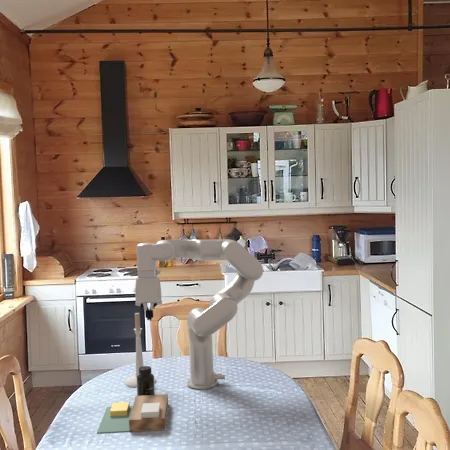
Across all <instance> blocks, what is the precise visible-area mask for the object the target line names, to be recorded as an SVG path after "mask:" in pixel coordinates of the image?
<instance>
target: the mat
mask: <svg viewBox="0 0 450 450" xmlns="http://www.w3.org/2000/svg"><path fill="white" fill-rule="evenodd" d="M111 407H112V406H107V407H106V409H105V410H104V413H103V416H102V418H101V422H100V423H99V426H98V429H97V432H96V434H111V433H127V432H131V431H130V430H129V418H130V415H131V411H132V408H133V405H130V407H129V411H128V414H127V416H114V417H110V410H111Z"/></svg>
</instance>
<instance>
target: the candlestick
mask: <svg viewBox="0 0 450 450" xmlns="http://www.w3.org/2000/svg"><path fill="white" fill-rule="evenodd" d="M140 319H141V318H140V312H134V323H135V326H134V327H135V328H133V331H134V334H135V375H132V376H130V377H128V378H127V379H125V381H124V385H125V386H126V385H127V386H126V387H128V386H129V387H128V388H132V387H137V376H138V375H139V368H140V367H143V366H145V365H144V356H143V348H142V338H141V337H142V336H141V334H142V330H143V328H141V320H140ZM156 382H157V379H156V378H155V377H154V384H156Z"/></svg>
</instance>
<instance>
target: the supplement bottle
mask: <svg viewBox="0 0 450 450" xmlns="http://www.w3.org/2000/svg"><path fill="white" fill-rule="evenodd" d="M154 378H155V375H154V374H153V373H152V367H151V366H150V365H144V366H143V367H140V368H139V375H138V376H137V388H136V396H143V395H156V391H155V387H156V386H155V383H154Z"/></svg>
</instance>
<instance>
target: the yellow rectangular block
mask: <svg viewBox="0 0 450 450" xmlns="http://www.w3.org/2000/svg"><path fill="white" fill-rule="evenodd" d="M130 406H131V405H130V401H124V402H123V401H121V402H113V403H112V405H111V406H110V407H111V410H110V417H114V416H127V414H128V411H129V407H130Z"/></svg>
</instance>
